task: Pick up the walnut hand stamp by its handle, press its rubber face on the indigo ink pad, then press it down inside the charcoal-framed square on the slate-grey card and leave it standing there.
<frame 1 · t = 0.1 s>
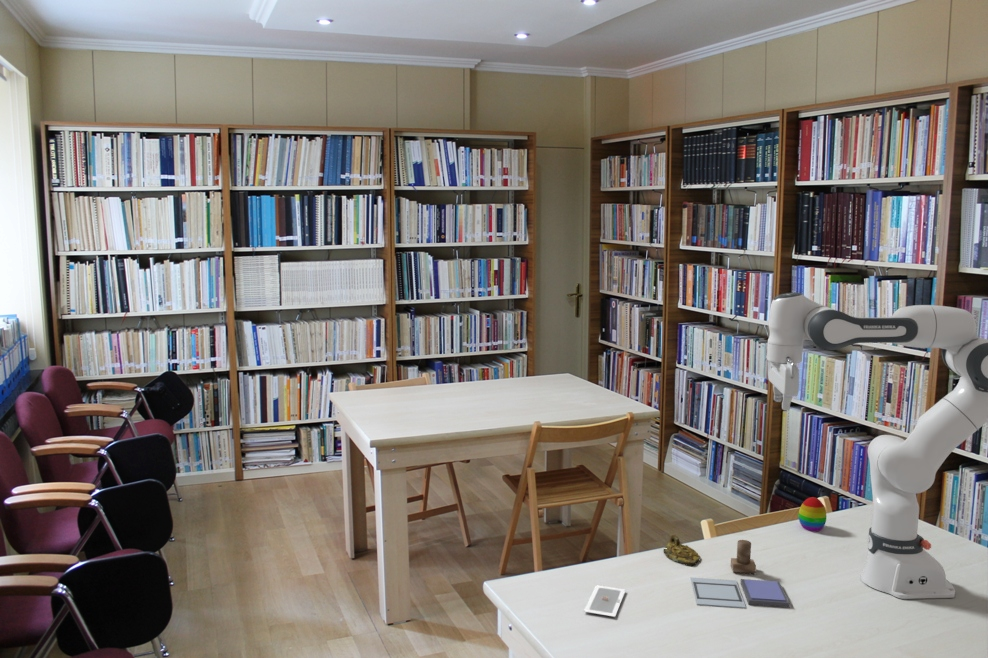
hand: (781, 405, 213), 48 cm above the table, fingers open, 8 cm apart
ink pad: (764, 594, 209), on the table
decorative egg: (811, 528, 254), on the table
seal: (681, 557, 233), on the table
touchpad: (605, 605, 205), on the table
stamp: (742, 570, 223), on the table
marked card: (717, 592, 210), on the table
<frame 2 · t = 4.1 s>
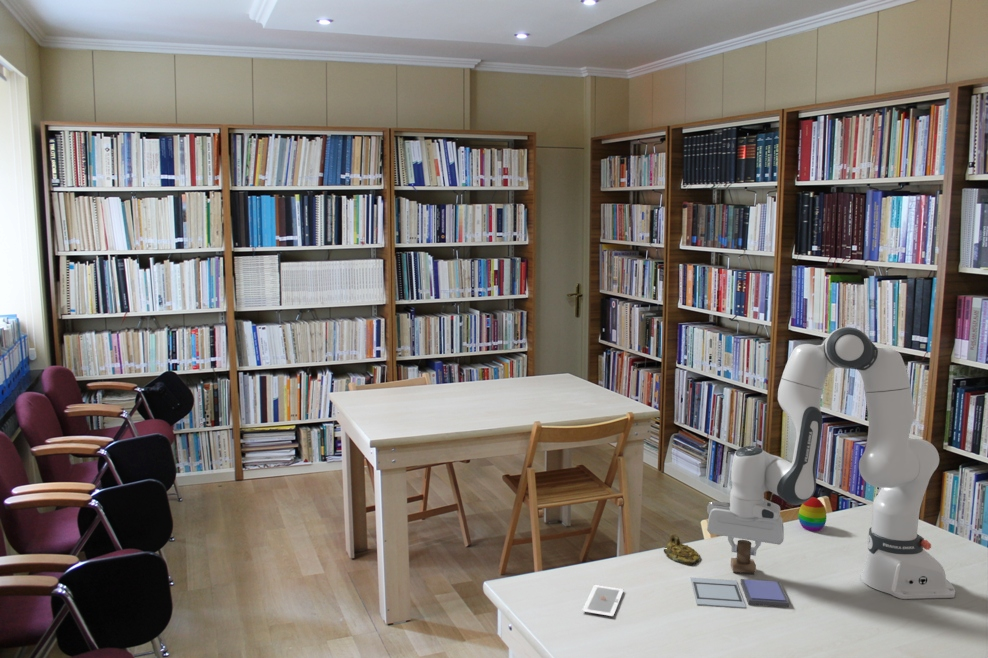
hand: (743, 553, 223), 5 cm above the table, fingers closed on stamp, 4 cm apart
stamp: (742, 570, 223), on the table, touching gripper
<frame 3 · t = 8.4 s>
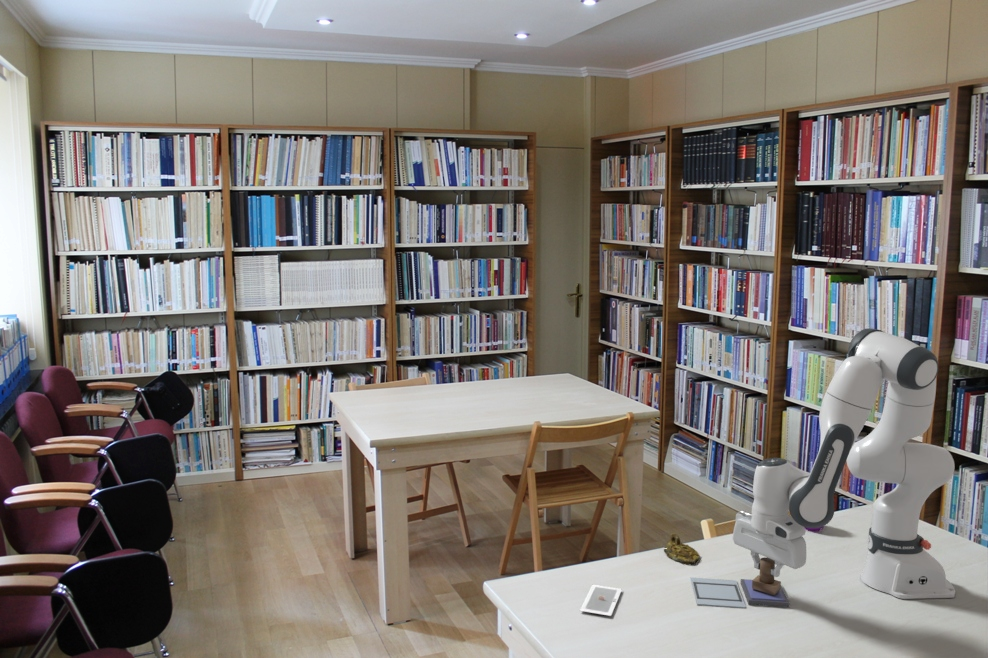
hand: (766, 571, 208), 7 cm above the table, fingers closed on stamp, 4 cm apart
stamp: (766, 590, 208), point 2 cm above the table, touching gripper, ink pad
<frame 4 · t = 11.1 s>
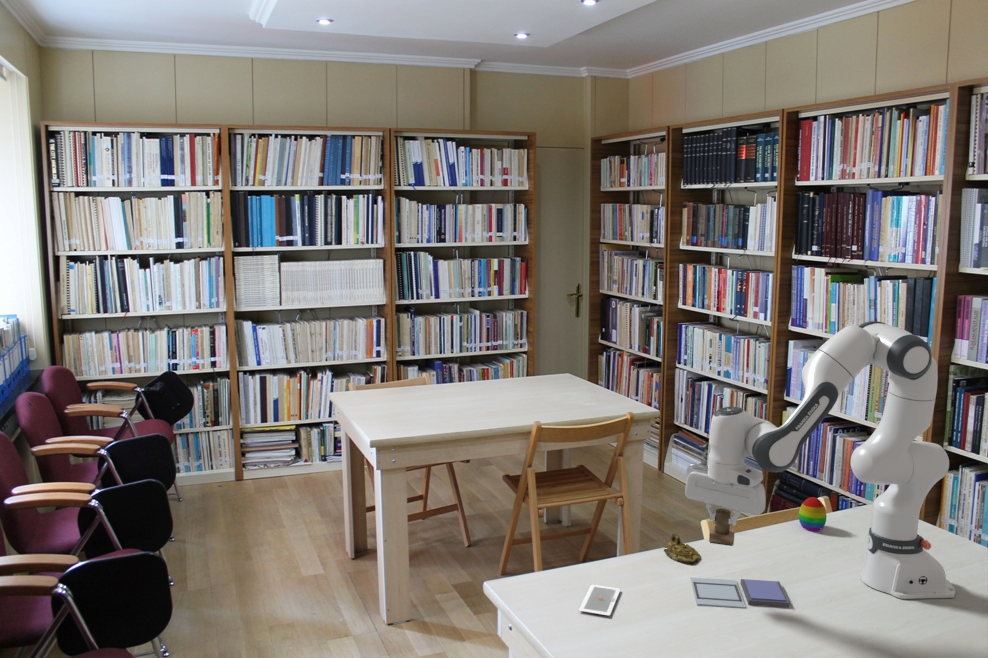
hand: (722, 522, 206), 20 cm above the table, fingers closed on stamp, 4 cm apart
stamp: (721, 541, 207), point 15 cm above the table, touching gripper
when the fingers open (6 cm above the table, at t = 13.0 s): stamp stays where it is, resting on marked card.
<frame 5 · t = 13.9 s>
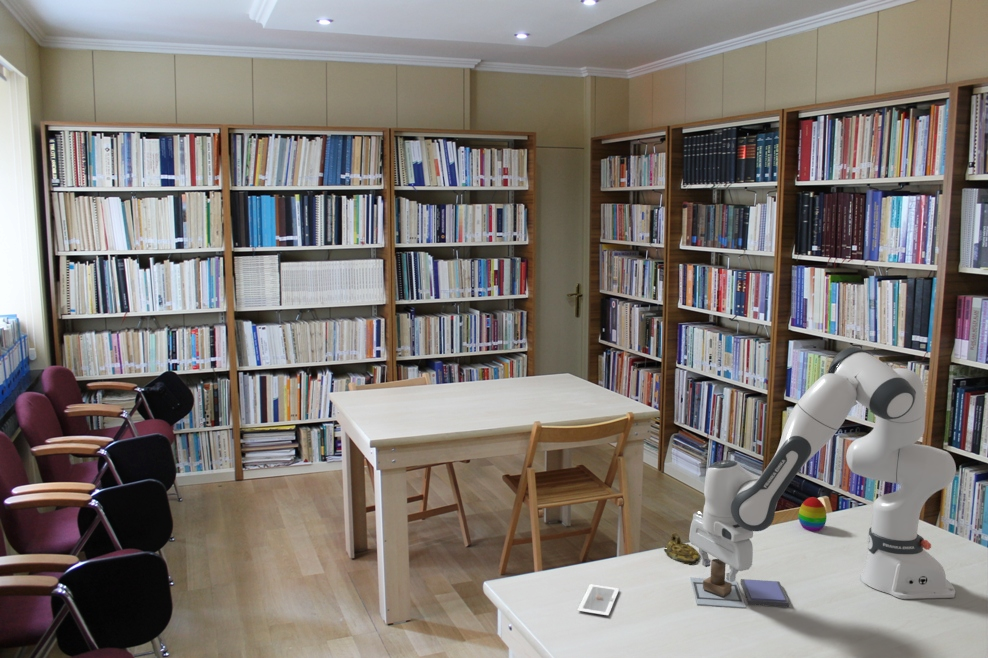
hand: (718, 572, 209), 6 cm above the table, fingers open, 8 cm apart
stamp: (717, 591, 210), resting on marked card
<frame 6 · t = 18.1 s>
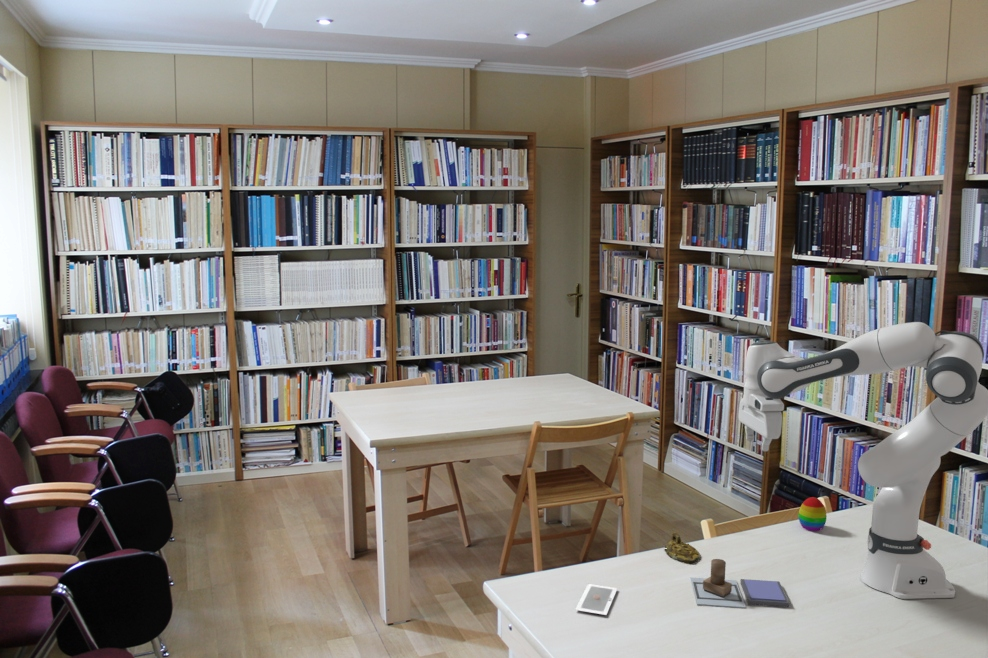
hand: (757, 445, 228), 33 cm above the table, fingers open, 8 cm apart
at the end: stamp 0.2 cm off-centre on the marked card, point 0.3 cm above the marked card's base; stamp tilted 0°; the gripper is holding nothing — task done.
